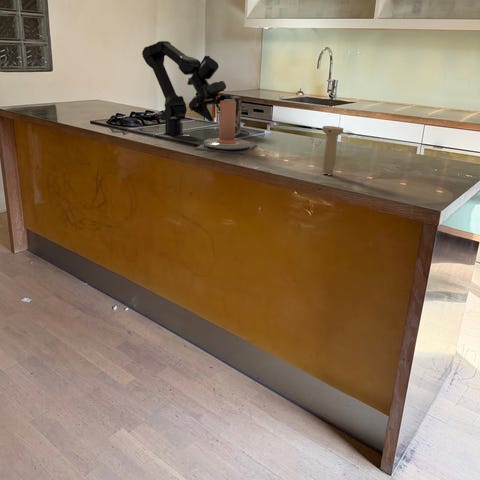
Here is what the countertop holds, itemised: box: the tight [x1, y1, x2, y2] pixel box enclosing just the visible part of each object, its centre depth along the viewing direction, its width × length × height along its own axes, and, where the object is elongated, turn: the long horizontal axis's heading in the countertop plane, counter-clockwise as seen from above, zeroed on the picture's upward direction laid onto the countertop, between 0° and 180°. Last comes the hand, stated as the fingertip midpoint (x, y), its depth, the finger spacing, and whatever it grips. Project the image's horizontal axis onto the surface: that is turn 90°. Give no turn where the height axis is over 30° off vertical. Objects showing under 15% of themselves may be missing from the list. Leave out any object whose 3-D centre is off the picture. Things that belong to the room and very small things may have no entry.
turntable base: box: [194, 142, 257, 156], centre depth 188 cm, size 19×19×1 cm
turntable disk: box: [203, 137, 250, 150], centre depth 187 cm, size 18×18×1 cm
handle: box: [321, 125, 344, 175], centre depth 152 cm, size 5×6×15 cm
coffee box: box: [230, 95, 243, 137], centre depth 212 cm, size 9×6×16 cm
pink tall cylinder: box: [216, 99, 237, 144], centre depth 184 cm, size 8×8×16 cm
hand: (220, 120), depth 186 cm, fingers open, 9 cm apart
